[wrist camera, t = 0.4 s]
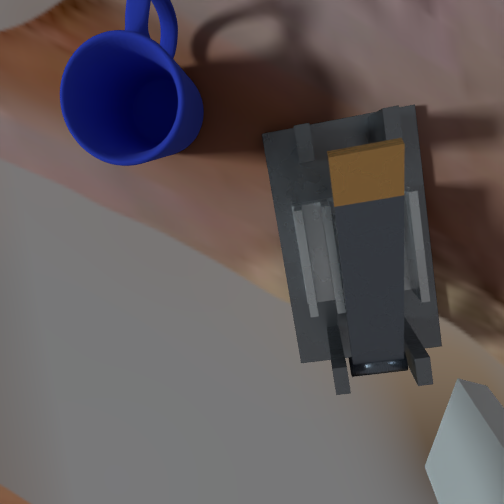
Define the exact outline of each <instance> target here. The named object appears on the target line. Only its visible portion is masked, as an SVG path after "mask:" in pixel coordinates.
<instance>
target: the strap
mask: <svg viewBox="0 0 504 504" xmlns="http://www.w3.org/2000/svg"><path fill="white" fill-rule="evenodd" d="M404 154H405V144H404V142H403V140H402V138H397V139H392V140H386V141H381V142H375V143H370V144H365V145H359V146H354V147H348V148H343V149H337V150H332V151H327V155H328V164H329V172H330V180H331V189H332V197H333V205H334V214H335V222H336V230H337V239H338V247H339V256H340V264H341V272H342V281H343V289H344V297H345V306H346V314H347V322H348V331H349V339H350V348H351V356H352V357H349V363H350V370H351V375H352V377H354V376H363V375H372V374H380V373H389V372H398V371H406V370H408V362H407V357H406V354H405V351H404Z"/></svg>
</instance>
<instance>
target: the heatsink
mask: <svg viewBox="0 0 504 504" xmlns="http://www.w3.org/2000/svg"><path fill="white" fill-rule="evenodd" d="M262 138H263V144H264V149H265V155H266V161H267V167H268V173H269V179H270V184H271V190H272V196H273V202H274V208H275V213H276V219H277V225H278V231H279V237H280V242H281V248H282V254H283V260H284V266H285V272H286V277H287V283H288V289H289V295H290V301H291V306H292V312H293V318H294V324H295V329H296V335H297V341H298V347H299V353H300V358H301V363H307V362H315V361H323V360H331V363H332V370H333V376H334V382H335V389H336V395H340V394H349V393H351V392H350V386H349V379H348V372H347V366H346V361H345V358H349V357H352V356H351V348H350V339H349V331H348V322H347V314H346V306H345V297H344V289H343V281H342V272H341V264H340V256H339V247H338V239H337V230H336V222H335V214H334V205H333V197H332V189H331V180H330V172H329V164H328V155H327V151H332V150H337V149H343V148H348V147H354V146H359V145H365V144H370V143H375V142H381V141H386V140H392V139H397V138H402V140H403V142H404V144H405V154H404V351H405V354H406V357H407V362H408V366H409V368H410V370H411V373H412V375H413V377H414V379H415V381H416V383H417V384H418V386H422V385H430V384H433V379H432V371H431V362H430V357H429V355H428V353H427V352H426V350H425V348H431V347H439V346H442V344H441V335H440V326H439V317H438V308H437V299H436V290H435V281H434V272H433V263H432V254H431V245H430V236H429V227H428V218H427V209H426V200H425V192H424V183H423V174H422V165H421V156H420V147H419V138H418V129H417V120H416V111H415V105H410V106H405V107H399V105H398V106H393V107H388V108H383V109H381V110H379V111H377V112H373V113H368V114H363V115H358V116H353V117H348V118H342V119H337V120H332V121H327V122H322V123H316V124H311V125H309V123H305V124H300V125H295V126H294V128H290V129H285V130H280V131H275V132H270V133H265V134H262Z"/></svg>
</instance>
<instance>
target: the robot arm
mask: <svg viewBox="0 0 504 504" xmlns="http://www.w3.org/2000/svg"><path fill="white" fill-rule="evenodd" d="M425 469H426V471H427V474H428V477H429V479H430V482H431V485H432V487H433V490H434V493H435V495H436V498H437V501H438V503H439V504H504V408H503V406H502V405H501V404H500V402H499V401H498V400H497V398H496V397H495V396H494V395H493V393H492V392H491V391H490V389H489V388H488V387H487V386H486V385H481V384H477V383H474V382H470V381H466V380H461V379H457V381H456V384H455V387H454V389H453V392H452V395H451V397H450V400H449V403H448V405H447V408H446V411H445V414H444V416H443V419H442V422H441V424H440V427H439V430H438V432H437V435H436V438H435V441H434V443H433V446H432V449H431V451H430V454H429V457H428V459H427V462H426V465H425Z"/></svg>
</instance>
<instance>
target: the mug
mask: <svg viewBox="0 0 504 504" xmlns="http://www.w3.org/2000/svg"><path fill="white" fill-rule="evenodd" d="M151 1H152V3H153V4H154V6H155V8H156V11H157V13H158V16H159V20H160V26H161V40H160V45H159V44H158V43H157V42H155V41H154V40H152V39H151V38H150V36H149V32H148V18H149V10H150V3H151ZM177 37H178V25H177V18H176V14H175V11H174V8H173V5H172V3H171V1H170V0H127V3H126V13H125V30H114V31H108V32H104V33H101V34H98V35H96V36H94V37H92V38H90V39H88V40H87V41H86V42H84V43H83V44H82V45H81V46H80V47H79V48H78V49H77V50H76V51H75V52H74V53H73V55H72V56H71V58H70V59H69V61H68V63H67V65H66V67H65V70H64V73H63V76H62V80H61V86H60V103H61V109H62V114H63V117H64V120H65V122H66V125H67V127H68V129H69V131H70V133H71V134H72V136H73V137H74V138H75V140H76V141H77V142H78V143H79V145H80V146H81V147H82V148H84V149H85V150H86V151H87V152H88V153H90V154H91V155H93V156H94V157H96V158H98V159H100V160H102V161H104V162H107V163H110V164H114V165H122V166H130V165H138V164H142V163H145V162H149V161H152V160H156V159H159V158H162V157H166V156H169V155H173V154H176V153H178V152H180V151H182V150H184V149H185V148H187V147H188V146H189V145H190V144H191V143H192V142H193V141H194V140H195V138H196V137H197V135H198V133H199V131H200V129H201V126H202V122H203V112H204V111H203V103H202V99H201V96H200V93H199V91H198V89H197V87H196V86H195V84H194V83H193V82H192V80H191V79H190V78H189V77H188V76H187V75H186V73H185V72H184V71H183V70H182V69H181V68H180V66H179V65H178V64H177V63H176V62H175V61H174V59H173V58H174V55H175V51H176V46H177Z"/></svg>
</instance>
